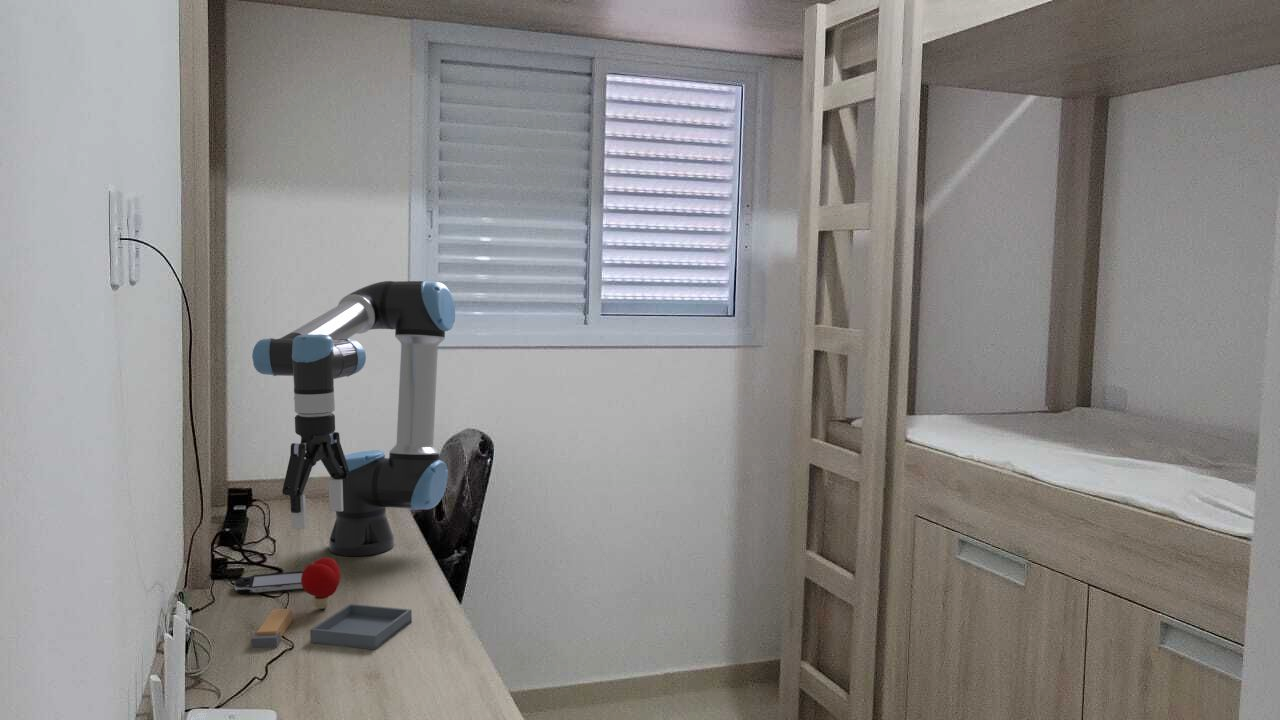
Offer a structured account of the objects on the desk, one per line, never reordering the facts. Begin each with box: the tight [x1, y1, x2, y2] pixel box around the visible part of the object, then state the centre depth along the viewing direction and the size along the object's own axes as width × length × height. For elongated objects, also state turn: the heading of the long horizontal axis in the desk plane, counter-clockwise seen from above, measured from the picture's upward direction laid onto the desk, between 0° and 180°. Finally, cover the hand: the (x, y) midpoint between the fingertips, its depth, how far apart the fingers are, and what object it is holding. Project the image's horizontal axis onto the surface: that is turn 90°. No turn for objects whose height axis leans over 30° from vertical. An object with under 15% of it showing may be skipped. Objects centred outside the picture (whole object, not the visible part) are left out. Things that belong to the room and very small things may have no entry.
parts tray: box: [309, 603, 413, 650], centre depth 195 cm, size 14×13×2 cm
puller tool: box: [250, 608, 293, 649], centre depth 194 cm, size 14×4×2 cm, turn 6°
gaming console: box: [233, 570, 305, 595], centre depth 222 cm, size 19×9×3 cm, turn 107°
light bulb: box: [301, 557, 341, 611], centre depth 207 cm, size 9×7×10 cm
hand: (318, 519), depth 205 cm, fingers open, 13 cm apart
